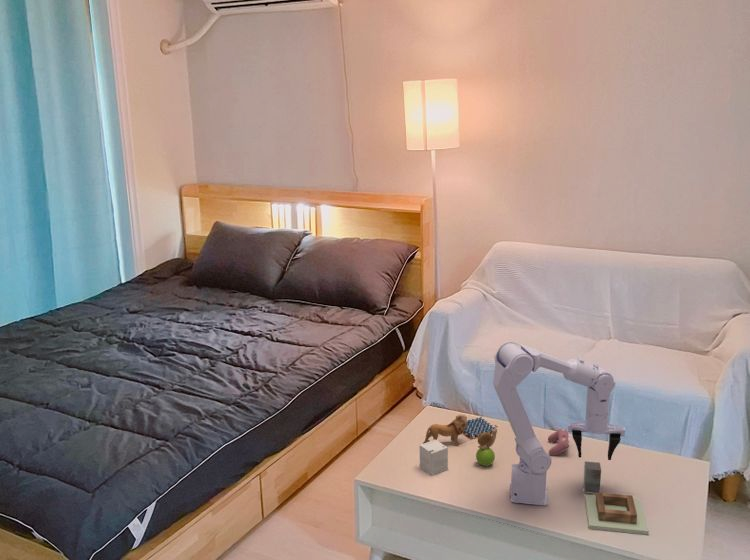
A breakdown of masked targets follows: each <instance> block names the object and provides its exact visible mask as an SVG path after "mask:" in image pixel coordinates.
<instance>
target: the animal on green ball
mask: <svg viewBox="0 0 750 560" xmlns="http://www.w3.org/2000/svg"><path fill="white" fill-rule="evenodd" d="M494 427H495V428H494V429H493V431H492V432H493V433H492V435H491V434H490V433H488V432H484V433H482V434H480V435H479V437H478V436H477V437H478V438H477V444H478V446H477V447H478V450H477V451H476V453H475V459H476V461H477V463H478V464H480V465H481V466H484V467H488V466H490V465H492V464H493V463H494V461H495V458H496V455H495V454H496V453H495V452H494V450H493V449H492V448H490V447H493V445H494V443H495V441H496V438H497V437H496V436H497V433H498V425H497V424H494Z"/></svg>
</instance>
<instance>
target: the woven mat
mask: <svg viewBox="0 0 750 560" xmlns="http://www.w3.org/2000/svg"><path fill="white" fill-rule="evenodd" d="M467 422H468V423H467V427H466V429H465V430H464V432H463V433H462V434H463V435H464V437H466V438H467V439H468V440H470V441H472V439H473V440H474V439H478V437H479V435H480V434H482V433H484V432H488V433H490V434H491V436H492V434H493V432H492V431H493V429H495V428H496V426H494V425H492V424H491V423H490V422H488V421H487V420H485V419H484V418H483V417H482V416H481V417H476V418H471V419H468V420H467Z"/></svg>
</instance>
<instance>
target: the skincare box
mask: <svg viewBox="0 0 750 560" xmlns="http://www.w3.org/2000/svg"><path fill="white" fill-rule="evenodd" d="M429 441H430V442H427V443H424V444H423V443H421V444H419V468H421V469H422V470H423V471H425V472H426V473H428V474H429V475H430V476H434V475H437V474H440V473H441V472H445V471H447V470H449V466H448V465H449V464H448V463H449V461H448V460H449V459H448V458H449V454H448V453H449V451H448V450H449V449H448V446H447V445H445V444H443V443H441V442H440V441H439V440H438V439H437V440H429Z"/></svg>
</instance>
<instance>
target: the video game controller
mask: <svg viewBox="0 0 750 560" xmlns="http://www.w3.org/2000/svg"><path fill="white" fill-rule="evenodd" d="M547 441H548V442H549V443H555V442H556V445H554V446H553V447H551V448H550V449H549V450H548V454H549V455H550V456H552V457H553V456H557V455H560V454H561V453H563V452H564V451H566V450H567V449H569V447H570V440H569V432H568V429H566V428H565V429H563V428H559V429H557V430H556V431H555V432H553V433H551V434H550V435H549V436H548V437H547Z"/></svg>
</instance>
